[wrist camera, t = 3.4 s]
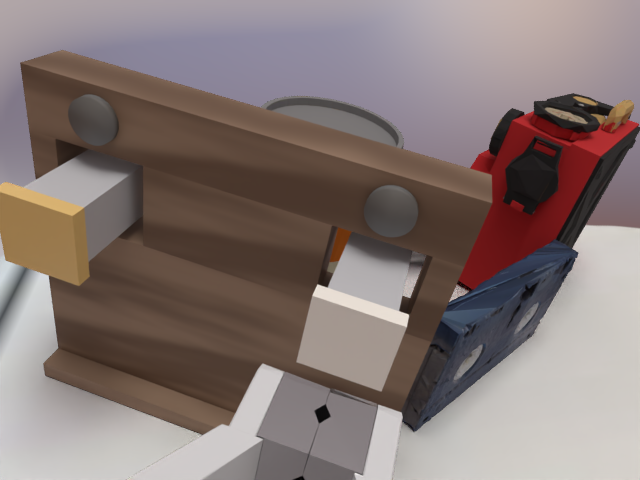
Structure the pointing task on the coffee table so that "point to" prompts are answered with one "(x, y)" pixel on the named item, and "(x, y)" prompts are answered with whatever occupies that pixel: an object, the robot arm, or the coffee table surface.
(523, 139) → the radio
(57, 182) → the yellow and grey block
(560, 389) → the coffee table surface
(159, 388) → the panel
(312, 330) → the off-white rectangular block
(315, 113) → the reusable coffee cup
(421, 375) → the vhs cassette tape
